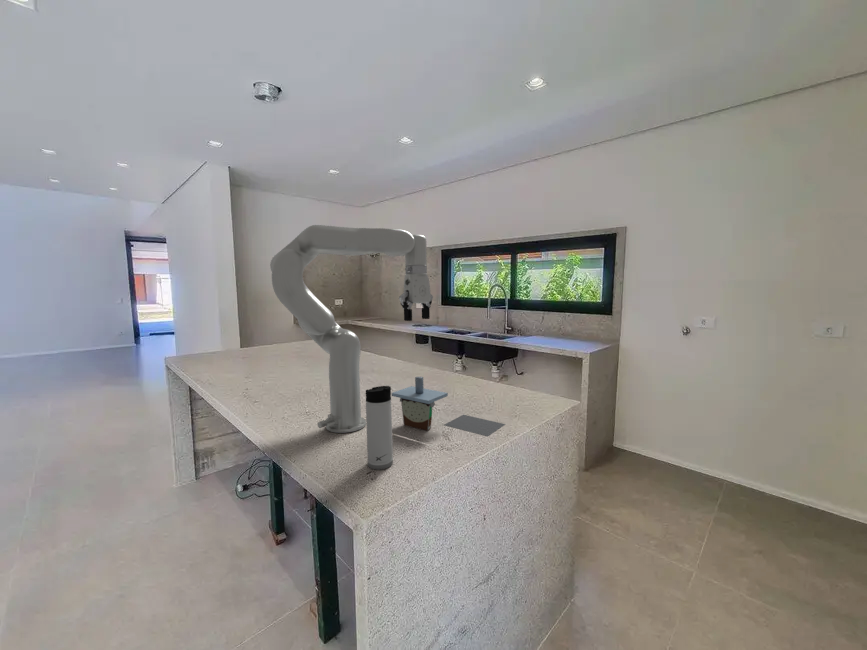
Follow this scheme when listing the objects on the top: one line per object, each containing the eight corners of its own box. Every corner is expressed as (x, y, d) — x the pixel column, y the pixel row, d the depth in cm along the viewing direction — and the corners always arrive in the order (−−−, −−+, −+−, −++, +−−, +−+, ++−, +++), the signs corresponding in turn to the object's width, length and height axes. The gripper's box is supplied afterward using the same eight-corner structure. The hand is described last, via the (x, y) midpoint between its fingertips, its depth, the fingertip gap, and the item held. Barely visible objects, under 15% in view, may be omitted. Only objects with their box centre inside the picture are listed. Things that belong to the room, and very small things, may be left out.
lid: (428, 404, 106) (428, 384, 106) (391, 395, 115) (391, 377, 115) (447, 395, 114) (447, 377, 114) (411, 389, 123) (411, 371, 123)
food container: (442, 426, 115) (442, 396, 114) (432, 433, 110) (431, 401, 109) (411, 419, 122) (410, 390, 121) (400, 425, 116) (399, 395, 115)
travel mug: (383, 472, 86) (380, 391, 84) (362, 466, 89) (359, 387, 88) (398, 462, 91) (397, 385, 89) (379, 456, 95) (376, 382, 93)
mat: (487, 437, 106) (487, 436, 106) (443, 426, 115) (443, 424, 115) (505, 425, 115) (505, 424, 115) (463, 415, 125) (463, 414, 125)
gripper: (407, 269, 117) (409, 322, 118) (439, 271, 130) (440, 318, 132) (391, 270, 121) (392, 321, 123) (423, 272, 135) (424, 317, 136)
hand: (417, 319), depth 127 cm, fingers open, 9 cm apart
